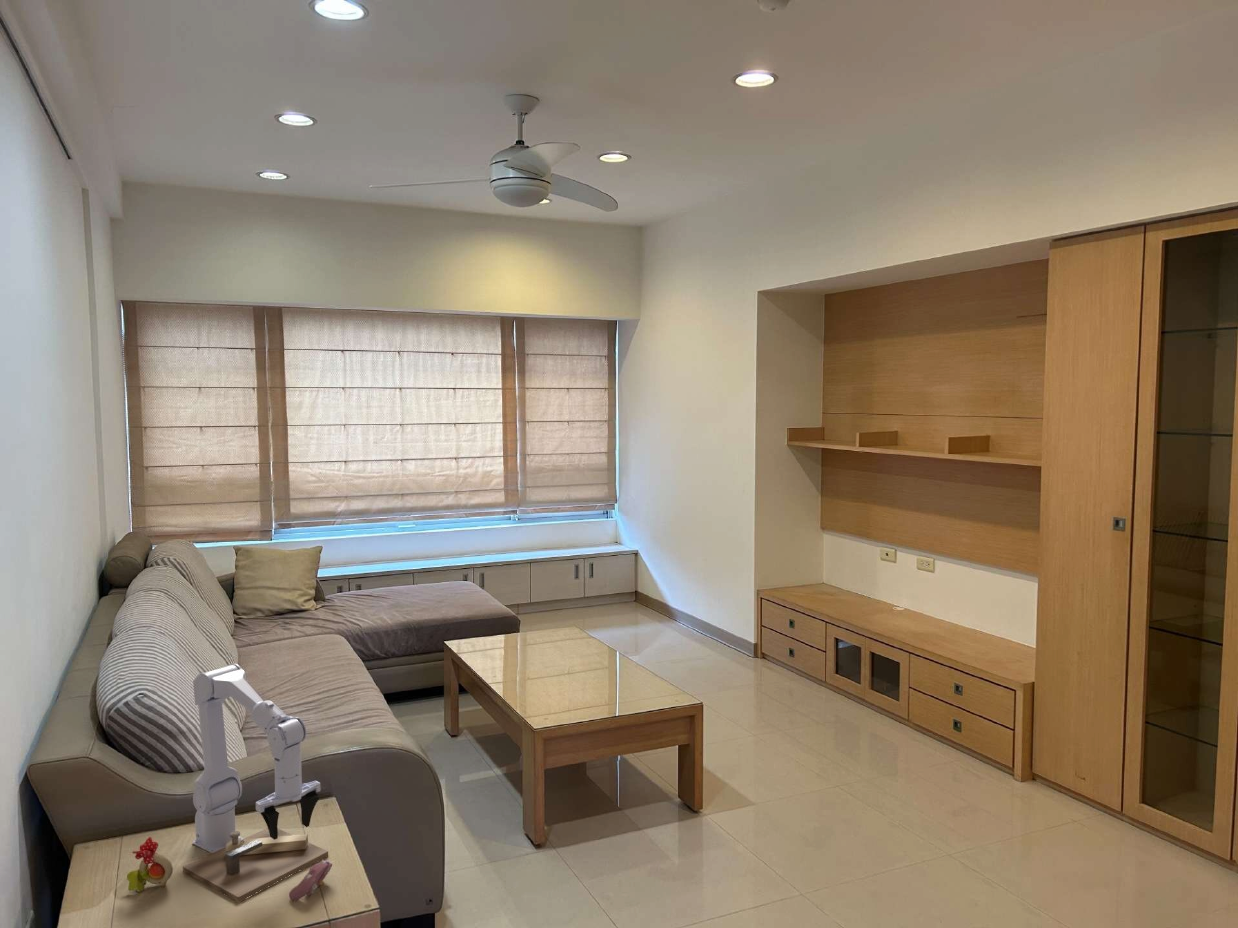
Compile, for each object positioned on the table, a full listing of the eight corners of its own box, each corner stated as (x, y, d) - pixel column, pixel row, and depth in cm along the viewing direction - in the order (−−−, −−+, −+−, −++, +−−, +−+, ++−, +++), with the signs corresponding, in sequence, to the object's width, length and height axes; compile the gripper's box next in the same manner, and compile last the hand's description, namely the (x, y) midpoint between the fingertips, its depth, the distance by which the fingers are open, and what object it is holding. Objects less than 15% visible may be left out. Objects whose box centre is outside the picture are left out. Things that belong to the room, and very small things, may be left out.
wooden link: (224, 857, 204) (223, 838, 204) (228, 848, 208) (228, 829, 208) (305, 849, 208) (304, 830, 207) (308, 841, 212) (307, 822, 211)
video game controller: (303, 909, 189) (315, 883, 188) (285, 898, 190) (297, 872, 189) (327, 884, 199) (339, 859, 198) (310, 874, 199) (322, 848, 198)
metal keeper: (226, 873, 198) (225, 853, 198) (257, 858, 205) (257, 839, 204) (231, 875, 197) (230, 856, 197) (262, 860, 204) (262, 841, 203)
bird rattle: (170, 886, 199) (132, 871, 199) (188, 842, 198) (149, 828, 198) (156, 902, 193) (117, 887, 192) (175, 857, 192) (135, 842, 192)
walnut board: (183, 871, 201) (182, 866, 201) (272, 830, 220) (272, 825, 220) (238, 902, 189) (238, 897, 189) (328, 855, 208) (328, 851, 208)
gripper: (265, 789, 190) (267, 849, 192) (326, 768, 201) (328, 825, 202) (250, 779, 195) (252, 838, 196) (311, 759, 206) (312, 815, 207)
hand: (289, 831), depth 200 cm, fingers open, 7 cm apart
